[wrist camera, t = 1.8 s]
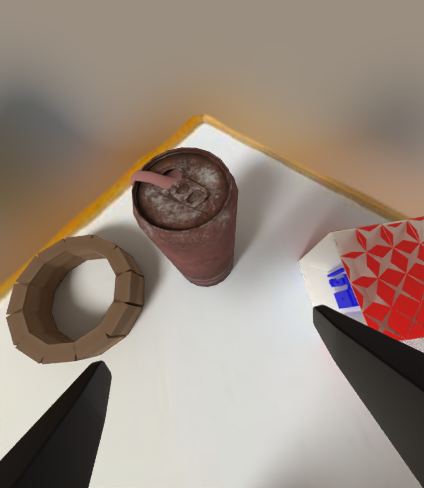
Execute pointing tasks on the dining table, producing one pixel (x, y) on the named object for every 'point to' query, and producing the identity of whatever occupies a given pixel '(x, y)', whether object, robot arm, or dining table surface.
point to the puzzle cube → (372, 276)
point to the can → (189, 211)
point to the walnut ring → (42, 294)
